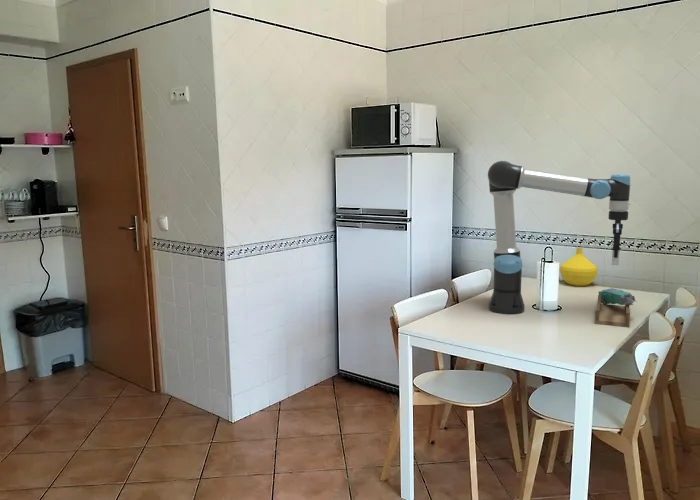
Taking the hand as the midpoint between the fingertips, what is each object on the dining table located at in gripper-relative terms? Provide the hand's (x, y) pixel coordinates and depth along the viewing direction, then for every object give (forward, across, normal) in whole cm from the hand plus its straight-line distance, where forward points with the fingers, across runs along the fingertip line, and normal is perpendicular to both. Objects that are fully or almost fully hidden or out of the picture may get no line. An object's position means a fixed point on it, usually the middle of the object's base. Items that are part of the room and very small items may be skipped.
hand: (615, 264), depth 238 cm
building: (+15, +3, +3) cm, 16 cm away
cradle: (+19, -15, 0) cm, 24 cm away
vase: (+20, +45, +17) cm, 52 cm away
